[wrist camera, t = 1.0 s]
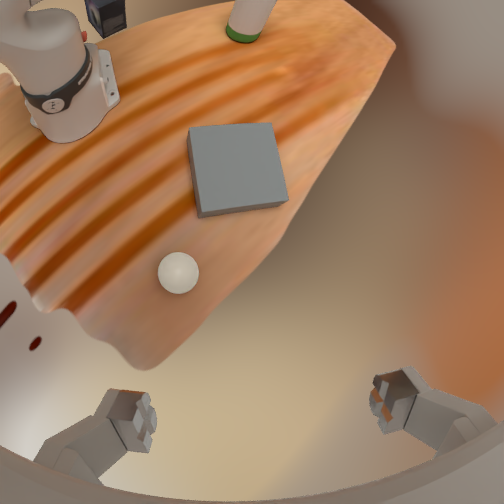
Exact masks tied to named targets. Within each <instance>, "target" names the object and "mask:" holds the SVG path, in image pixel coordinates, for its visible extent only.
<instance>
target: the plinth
mask: <svg viewBox="0 0 504 504" xmlns="http://www.w3.org/2000/svg"><path fill="white" fill-rule="evenodd" d="M187 146H188V153H189V160H190V167H191V174H192V180H193V187H194V193H195V199H196V206H197V212H198V218H203V217H209V216H215V215H222V214H229V213H235V212H242V211H249V210H256V209H263V208H271V207H278V206H280V205H281V204H283V203H285V202H287V201H288V200H289V198H288V193H287V189H286V184H285V179H284V175H283V170H282V166H281V161H280V157H279V153H278V148H277V144H276V140H275V136H274V132H273V127H272V123H246V124H227V125H213V126H201V127H191V128H189V131H188V137H187Z"/></svg>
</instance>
